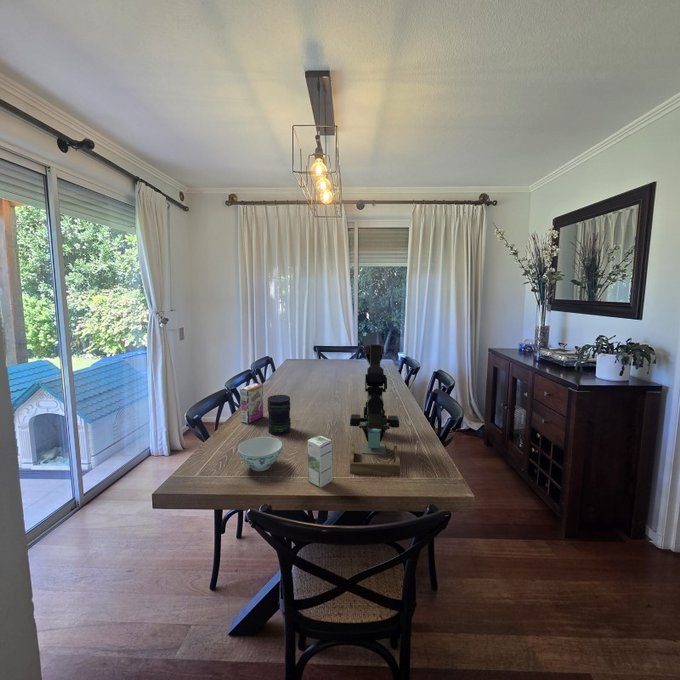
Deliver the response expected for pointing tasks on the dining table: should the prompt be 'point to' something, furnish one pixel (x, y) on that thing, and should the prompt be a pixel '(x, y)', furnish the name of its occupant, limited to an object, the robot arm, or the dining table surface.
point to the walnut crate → (375, 466)
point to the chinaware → (260, 452)
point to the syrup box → (319, 461)
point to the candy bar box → (251, 403)
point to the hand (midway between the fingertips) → (373, 441)
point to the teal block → (373, 438)
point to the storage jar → (279, 414)
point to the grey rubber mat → (373, 449)
